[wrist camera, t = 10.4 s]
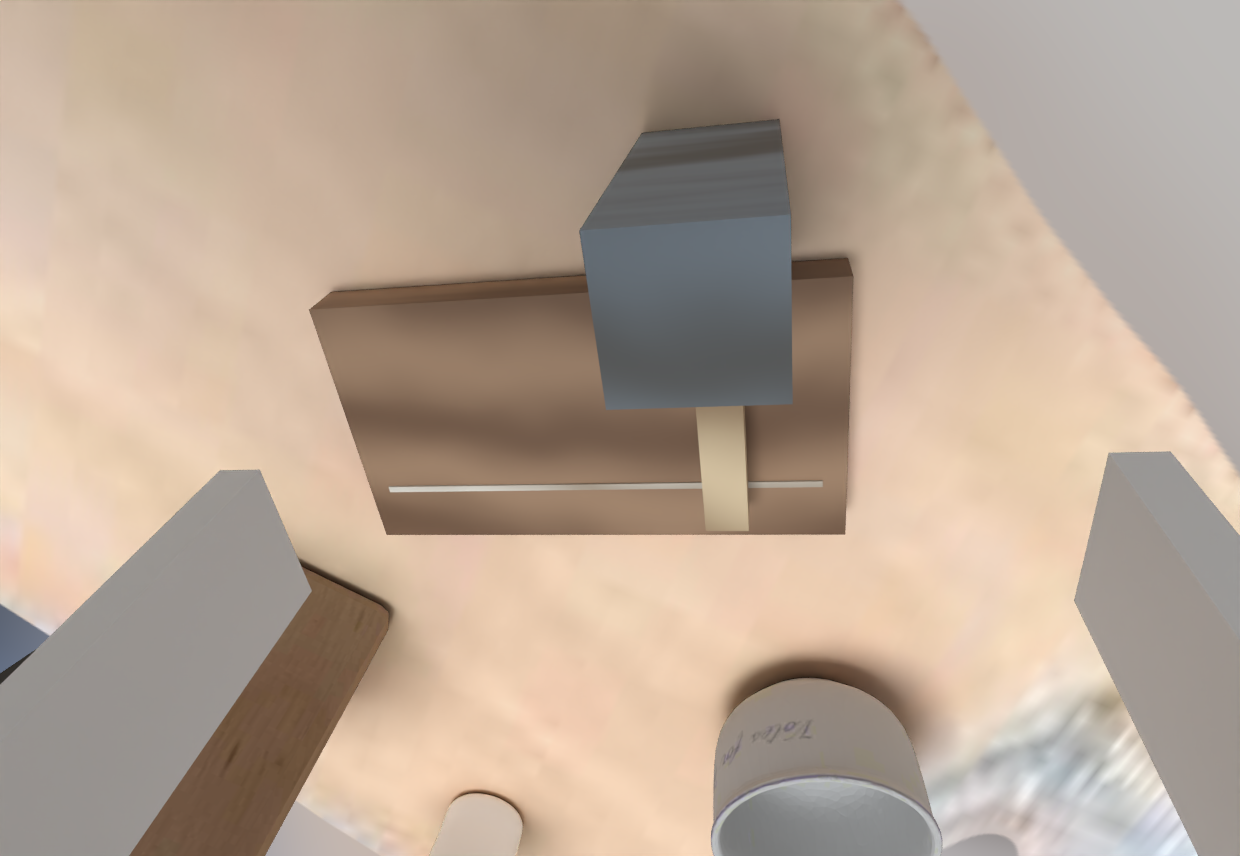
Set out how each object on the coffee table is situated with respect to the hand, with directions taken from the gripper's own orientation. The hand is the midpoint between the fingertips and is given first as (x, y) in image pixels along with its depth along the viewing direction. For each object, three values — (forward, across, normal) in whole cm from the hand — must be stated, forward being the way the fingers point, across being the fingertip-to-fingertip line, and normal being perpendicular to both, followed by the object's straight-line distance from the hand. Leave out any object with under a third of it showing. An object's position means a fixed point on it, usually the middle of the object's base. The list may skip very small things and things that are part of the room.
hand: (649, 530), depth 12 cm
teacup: (+21, +3, -31) cm, 37 cm away
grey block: (+20, 0, -5) cm, 21 cm away
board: (+20, -6, -9) cm, 23 cm away
